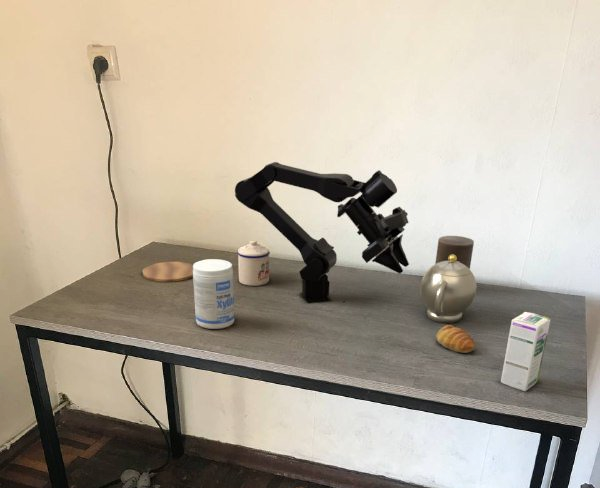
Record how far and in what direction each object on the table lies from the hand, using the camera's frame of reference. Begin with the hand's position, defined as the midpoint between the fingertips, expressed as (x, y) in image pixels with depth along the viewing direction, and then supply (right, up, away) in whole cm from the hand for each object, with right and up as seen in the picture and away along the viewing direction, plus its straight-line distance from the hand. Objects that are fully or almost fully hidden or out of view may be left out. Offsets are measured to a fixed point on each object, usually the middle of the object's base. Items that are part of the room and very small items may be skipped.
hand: (404, 269), depth 159 cm
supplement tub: (-47, -14, -2) cm, 49 cm away
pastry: (+10, -20, -11) cm, 25 cm away
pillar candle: (+17, -1, +23) cm, 28 cm away
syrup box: (+19, -29, -26) cm, 44 cm away
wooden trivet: (-64, +5, +29) cm, 71 cm away
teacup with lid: (-39, +2, +25) cm, 47 cm away
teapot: (+10, -12, +2) cm, 16 cm away
